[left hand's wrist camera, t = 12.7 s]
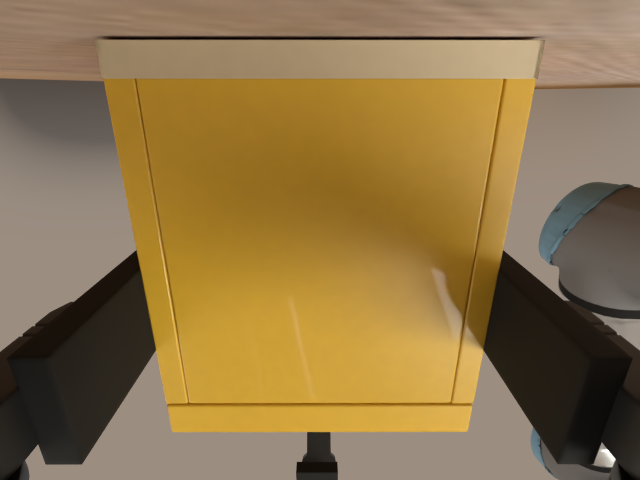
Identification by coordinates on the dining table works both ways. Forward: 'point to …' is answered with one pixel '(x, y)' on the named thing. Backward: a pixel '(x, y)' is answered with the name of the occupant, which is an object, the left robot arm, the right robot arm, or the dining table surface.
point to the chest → (319, 210)
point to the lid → (320, 417)
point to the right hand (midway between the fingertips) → (317, 390)
